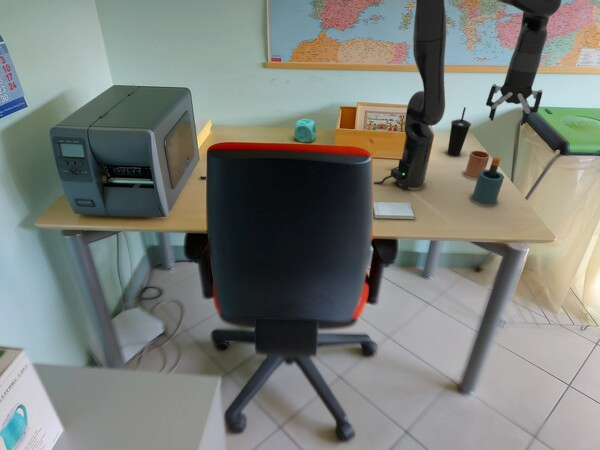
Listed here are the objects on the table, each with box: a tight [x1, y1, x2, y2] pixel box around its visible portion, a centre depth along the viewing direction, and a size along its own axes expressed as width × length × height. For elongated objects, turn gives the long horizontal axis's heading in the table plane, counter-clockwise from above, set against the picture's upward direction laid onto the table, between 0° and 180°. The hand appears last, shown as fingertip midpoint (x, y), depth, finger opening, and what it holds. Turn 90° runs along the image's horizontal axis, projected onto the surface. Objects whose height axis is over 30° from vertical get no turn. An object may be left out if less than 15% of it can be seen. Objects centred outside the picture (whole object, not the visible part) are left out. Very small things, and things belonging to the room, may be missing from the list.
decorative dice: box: [294, 118, 317, 143], centre depth 181 cm, size 8×8×8 cm
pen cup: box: [464, 150, 490, 179], centre depth 153 cm, size 7×7×9 cm
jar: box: [472, 169, 505, 205], centre depth 137 cm, size 8×8×10 cm
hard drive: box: [372, 201, 415, 220], centre depth 133 cm, size 2×8×12 cm
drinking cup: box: [447, 107, 472, 157], centre depth 166 cm, size 8×8×20 cm
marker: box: [487, 156, 501, 179], centre depth 135 cm, size 2×2×15 cm
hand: (506, 122), depth 125 cm, fingers open, 8 cm apart
